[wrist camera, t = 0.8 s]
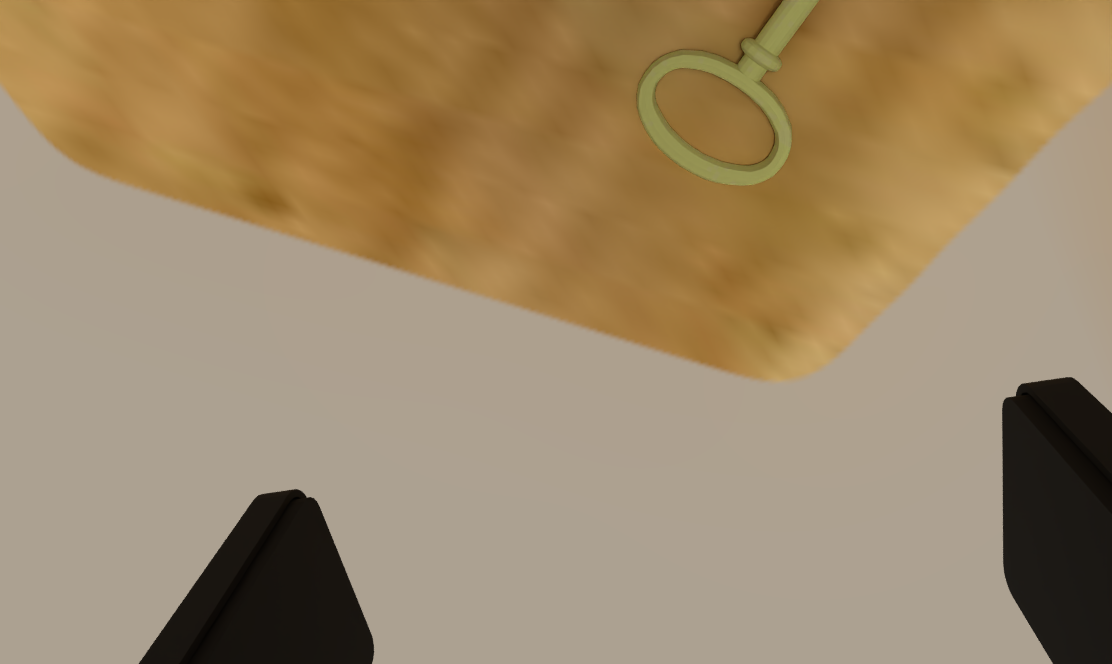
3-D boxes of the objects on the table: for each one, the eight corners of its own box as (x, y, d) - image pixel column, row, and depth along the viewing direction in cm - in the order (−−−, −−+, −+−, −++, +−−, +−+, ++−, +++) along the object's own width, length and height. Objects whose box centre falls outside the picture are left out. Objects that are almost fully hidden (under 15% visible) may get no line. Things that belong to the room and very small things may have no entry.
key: (876, -100, 32) (892, -105, 30) (769, 194, 37) (777, 206, 35) (702, -148, 32) (706, -155, 30) (618, 154, 37) (617, 164, 35)
